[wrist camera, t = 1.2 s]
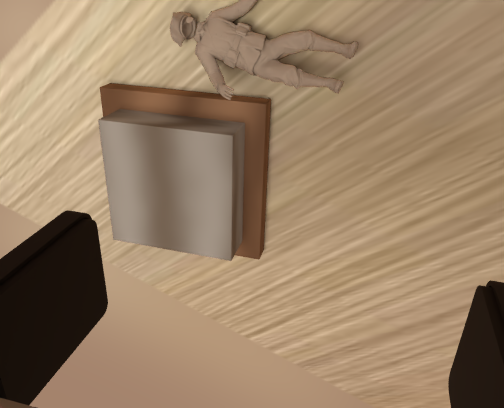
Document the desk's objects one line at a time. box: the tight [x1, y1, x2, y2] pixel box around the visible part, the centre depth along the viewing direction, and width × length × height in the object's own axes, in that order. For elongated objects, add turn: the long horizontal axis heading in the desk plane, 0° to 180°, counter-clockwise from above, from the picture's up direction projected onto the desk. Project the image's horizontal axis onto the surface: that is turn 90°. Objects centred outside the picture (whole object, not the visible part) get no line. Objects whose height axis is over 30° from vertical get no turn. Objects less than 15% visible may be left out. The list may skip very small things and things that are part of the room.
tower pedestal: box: [98, 83, 271, 261], centre depth 36 cm, size 13×13×4 cm
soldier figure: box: [170, 0, 358, 100], centre depth 30 cm, size 8×5×12 cm
